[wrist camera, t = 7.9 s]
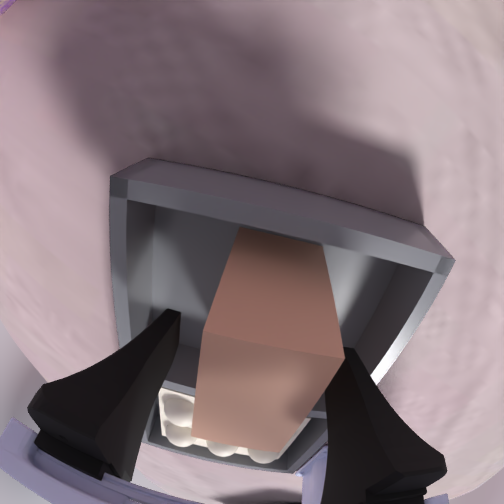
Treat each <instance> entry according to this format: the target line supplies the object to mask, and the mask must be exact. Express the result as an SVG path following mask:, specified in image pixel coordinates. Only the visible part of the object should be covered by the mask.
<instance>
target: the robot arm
mask: <svg viewBox="0 0 504 504" xmlns="http://www.w3.org/2000/svg"><path fill="white" fill-rule="evenodd" d="M180 321H181V312H180V311H176V310H172V309H169V308H167V309H166V310H164V312H163V313H162V314H161V315H160V316H159V317H157V318H156V319H155V320H154V321H153V322H152V323H151V324H150V325H149V326H148V327H147V328H146V329H144V330H143V331H142V332H141V333H140V334H139V335H137V336H136V337H135V338H134V339H132V340H131V341H130V342H128V343H127V344H126V345H125V346H123V347H122V348H121V349H119V350H118V351H116V352H115V353H113V354H112V355H110V356H108V357H107V358H105V359H104V360H102V361H100V362H98V363H96V364H94V365H93V366H91V367H89V368H87V369H85V370H82V371H80V372H78V373H75V374H73V375H71V376H68V377H65V378H63V379H59V380H56V381H53V382H50V383H46V384H43V385H42V386H41V388H40V389H39V390H38V391H37V393H36V394H35V396H34V398H33V399H32V401H31V402H30V404H29V405H28V407H27V408H28V413H29V414H30V416H31V417H32V419H33V420H34V421H35V423H36V424H37V425H38V427H39V428H40V429H41V430H40V432H39V434H37V433H36V432H34V431H33V430H32V429H30V428H28V427H27V426H26V425H24V424H22V423H21V422H20V421H18V420H17V419H15V418H11V419H10V421H9V423H8V424H7V426H6V428H5V430H4V431H3V433H2V435H1V437H0V468H1V469H2V470H3V471H5V472H6V473H7V474H9V475H10V476H11V477H13V478H14V479H15V480H17V481H19V482H20V483H21V484H22V485H24V486H25V487H27V488H28V489H30V490H31V491H33V492H35V493H36V494H37V495H39V496H41V497H42V498H44V499H46V500H47V501H49V502H50V503H52V504H140V503H141V504H203V503H199V502H194V501H190V500H186V499H182V498H178V497H174V496H170V495H167V494H164V493H160V492H157V491H153V490H151V489H147V488H145V487H142V486H138V485H136V484H132V483H130V481H132V476H133V472H134V468H135V464H136V460H137V456H138V452H139V449H140V445H141V441H142V438H143V435H144V431H145V428H146V425H147V422H148V419H149V415H150V412H151V409H152V407H153V404H154V402H155V400H156V397H157V395H158V393H159V391H160V389H161V387H162V385H163V383H164V380H165V378H166V376H167V374H168V372H169V370H170V368H171V365H172V363H173V360H174V357H175V355H176V351H177V348H178V345H179V336H180ZM343 350H344V356H345V359H344V361H343V363H342V364H341V366H340V367H339V369H338V371H337V372H336V374H335V375H334V377H333V378H332V380H331V382H330V383H329V385H328V386H327V388H326V389H325V404H326V416H327V429H328V446H324V447H323V448H322V449H321V450H320V451H319V452H318V453H317V454H315V455H314V456H313V457H312V458H311V459H310V460H309V461H308V462H307V463H306V464H305V465H304V466H302V467H301V468H300V469H299V470H298V471H297V472H296V473H295V475H296V476H303V485H302V504H449V500H448V494H442V495H439V496H435V497H431V498H428V499H425V500H424V497H423V495H425V494H426V493H427V490H426V487H427V486H429V485H431V484H432V483H434V482H436V481H437V480H439V479H440V478H442V477H443V476H444V475H445V474H446V473H447V467H446V463H445V458H444V455H443V454H441V453H440V452H438V451H437V450H435V449H434V448H433V447H431V446H430V445H429V444H427V443H426V442H425V441H424V440H423V439H421V438H420V437H419V436H418V435H417V434H416V433H415V432H414V431H413V430H412V429H411V428H410V427H409V426H408V425H407V424H406V423H405V422H404V421H403V420H402V419H401V418H400V417H399V416H398V414H397V413H396V412H395V411H394V409H393V408H392V407H391V406H390V404H389V403H388V402H387V400H386V399H385V397H384V396H383V394H382V393H381V392H380V390H379V389H378V387H377V385H376V384H375V382H374V381H373V379H372V377H371V376H370V374H369V372H368V371H367V369H366V367H365V366H364V364H363V362H362V361H361V359H360V357H359V355H358V354H357V352H356V351H355V349H354V348H349V347H343ZM132 500H133V501H132Z"/></svg>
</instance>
